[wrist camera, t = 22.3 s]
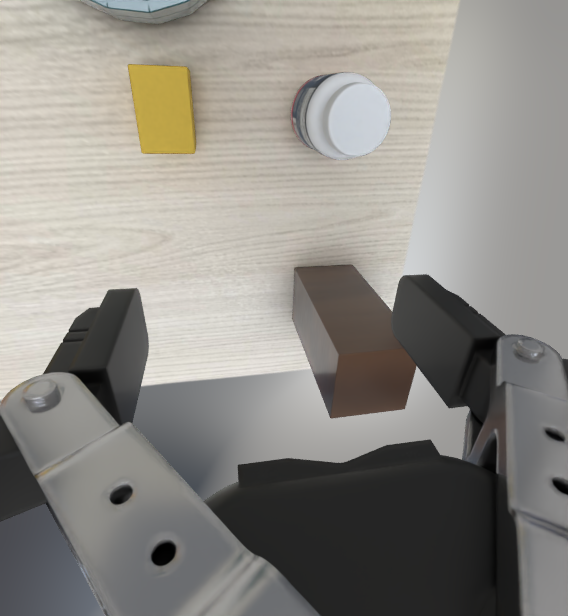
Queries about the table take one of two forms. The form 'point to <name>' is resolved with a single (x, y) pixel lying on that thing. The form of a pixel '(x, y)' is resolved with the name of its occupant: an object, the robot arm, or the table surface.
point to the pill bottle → (341, 115)
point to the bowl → (146, 9)
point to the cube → (163, 108)
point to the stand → (350, 342)
